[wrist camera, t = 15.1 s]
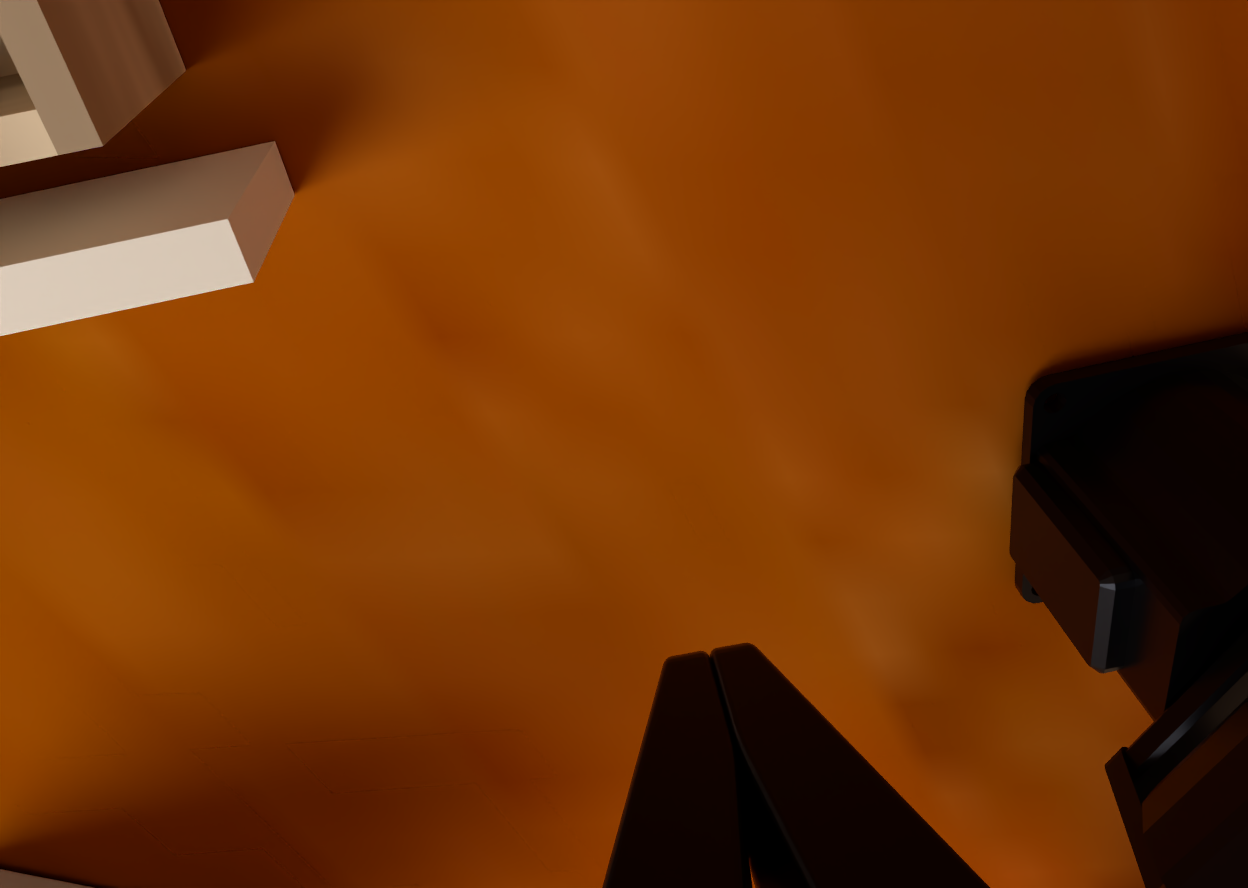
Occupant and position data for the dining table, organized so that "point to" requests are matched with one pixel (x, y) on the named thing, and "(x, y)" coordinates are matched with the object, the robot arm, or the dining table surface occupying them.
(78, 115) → the crate with rolls
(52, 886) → the coffee box
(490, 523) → the dining table surface
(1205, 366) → the robot arm
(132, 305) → the beige u-shaped block
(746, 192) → the dining table surface
